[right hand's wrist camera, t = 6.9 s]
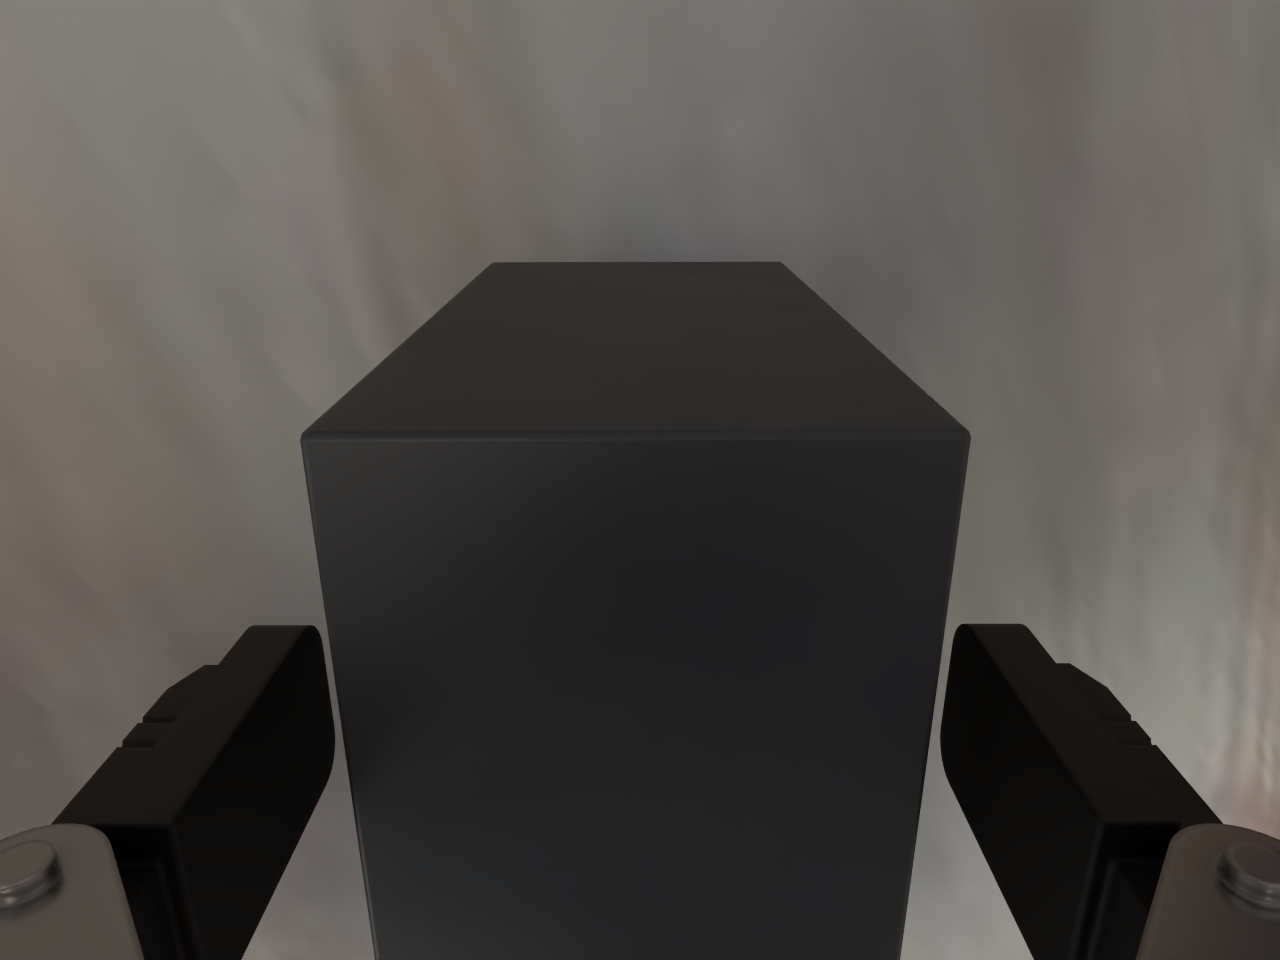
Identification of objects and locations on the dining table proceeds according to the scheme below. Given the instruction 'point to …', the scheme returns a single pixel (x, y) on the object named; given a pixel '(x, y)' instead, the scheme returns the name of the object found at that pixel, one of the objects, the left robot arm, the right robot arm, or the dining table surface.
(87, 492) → the dining table surface
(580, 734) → the box
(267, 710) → the right robot arm
